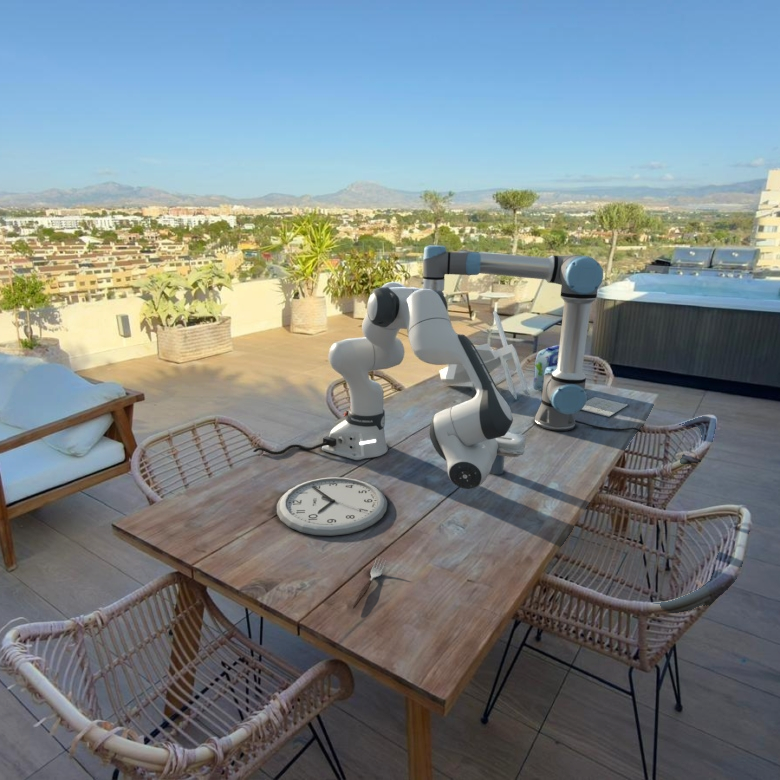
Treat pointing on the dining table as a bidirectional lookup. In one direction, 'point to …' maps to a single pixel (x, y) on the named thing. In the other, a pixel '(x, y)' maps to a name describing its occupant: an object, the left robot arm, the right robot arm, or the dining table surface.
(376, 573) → the fork
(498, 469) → the bottle
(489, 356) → the white plastic object
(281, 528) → the dining table surface
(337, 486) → the wall clock
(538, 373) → the lunch box
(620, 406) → the invitation card
